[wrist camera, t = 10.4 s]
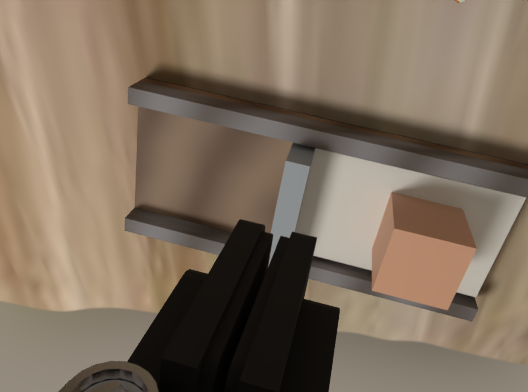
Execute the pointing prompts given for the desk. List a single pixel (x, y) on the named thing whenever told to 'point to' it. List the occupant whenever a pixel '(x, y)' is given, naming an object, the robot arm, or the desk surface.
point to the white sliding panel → (380, 207)
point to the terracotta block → (421, 251)
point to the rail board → (267, 171)
